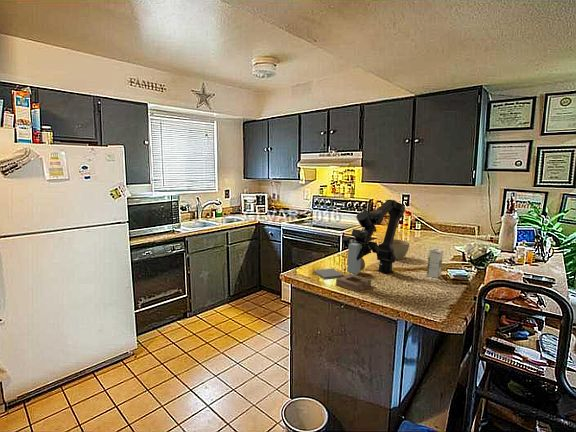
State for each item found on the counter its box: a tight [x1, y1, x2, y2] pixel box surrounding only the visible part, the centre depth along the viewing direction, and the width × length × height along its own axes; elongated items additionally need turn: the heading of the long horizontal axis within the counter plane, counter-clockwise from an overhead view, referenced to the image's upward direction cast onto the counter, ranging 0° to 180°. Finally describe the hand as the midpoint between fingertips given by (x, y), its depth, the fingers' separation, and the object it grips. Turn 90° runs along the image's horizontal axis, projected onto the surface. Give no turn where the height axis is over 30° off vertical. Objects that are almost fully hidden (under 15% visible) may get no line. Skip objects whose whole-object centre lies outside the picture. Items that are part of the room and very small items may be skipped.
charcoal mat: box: [312, 267, 345, 280], centre depth 175 cm, size 12×12×1 cm
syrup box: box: [426, 248, 444, 279], centre depth 175 cm, size 6×6×14 cm
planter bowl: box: [382, 238, 411, 261], centre depth 212 cm, size 16×16×11 cm
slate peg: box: [346, 243, 362, 275], centre depth 157 cm, size 4×4×14 cm
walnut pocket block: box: [335, 273, 372, 293], centre depth 158 cm, size 12×12×3 cm
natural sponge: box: [360, 257, 366, 272], centre depth 179 cm, size 9×9×10 cm
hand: (352, 258), depth 156 cm, fingers closed on slate peg, 4 cm apart
